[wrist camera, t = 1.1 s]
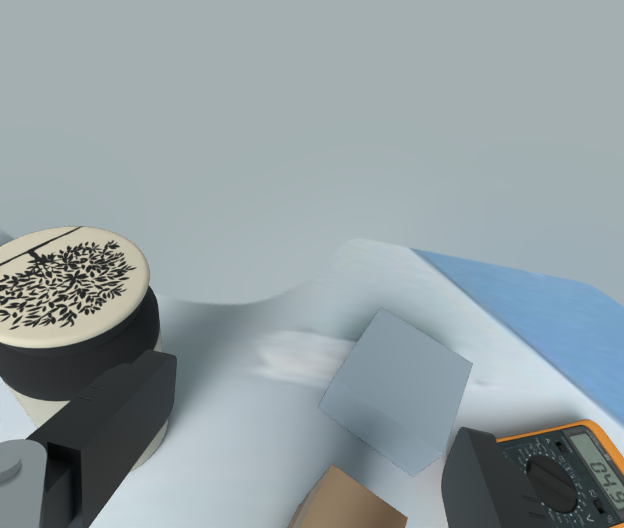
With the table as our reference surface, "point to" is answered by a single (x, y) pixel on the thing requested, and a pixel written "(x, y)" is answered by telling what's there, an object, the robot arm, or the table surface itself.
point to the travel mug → (72, 315)
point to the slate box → (398, 392)
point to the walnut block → (344, 506)
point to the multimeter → (572, 473)
